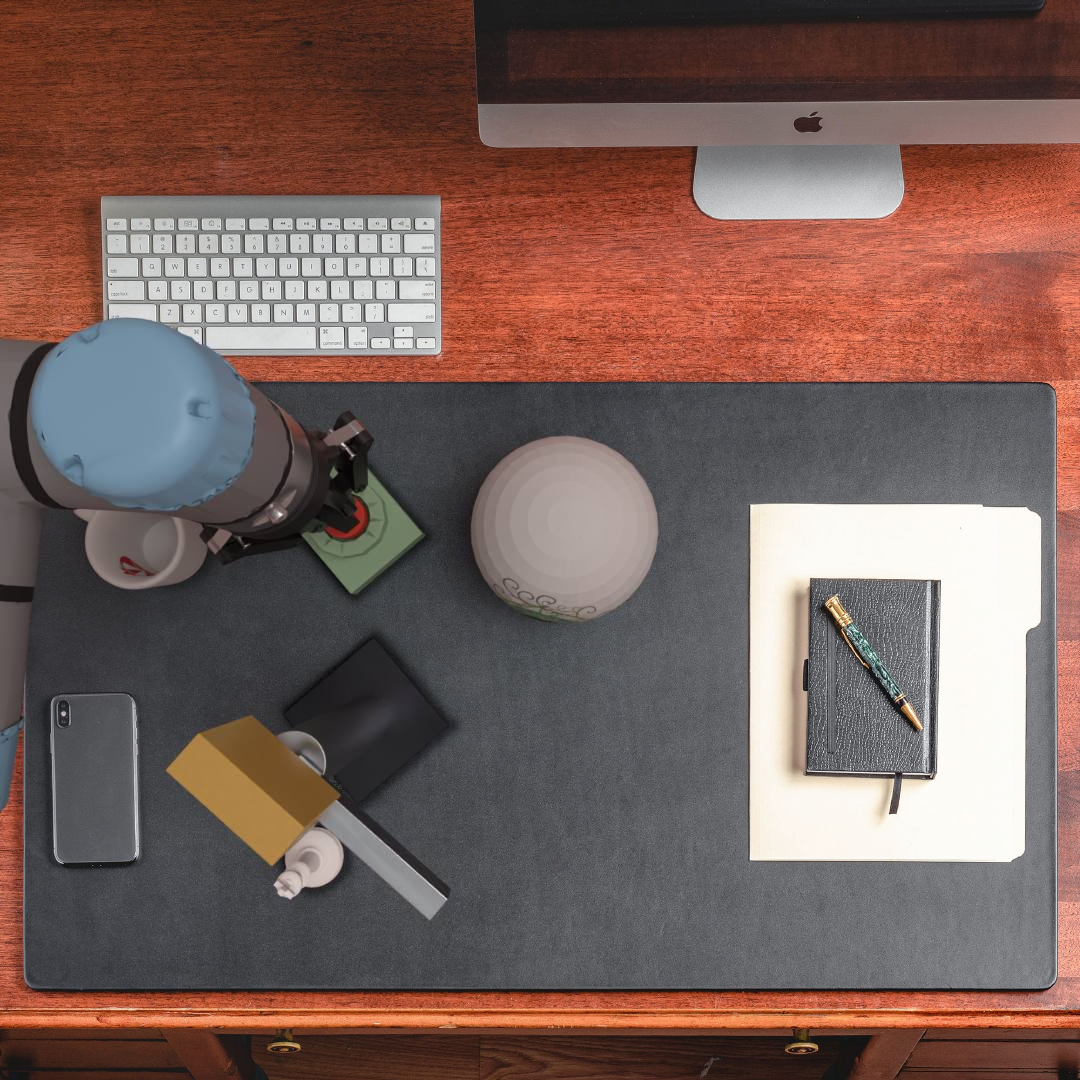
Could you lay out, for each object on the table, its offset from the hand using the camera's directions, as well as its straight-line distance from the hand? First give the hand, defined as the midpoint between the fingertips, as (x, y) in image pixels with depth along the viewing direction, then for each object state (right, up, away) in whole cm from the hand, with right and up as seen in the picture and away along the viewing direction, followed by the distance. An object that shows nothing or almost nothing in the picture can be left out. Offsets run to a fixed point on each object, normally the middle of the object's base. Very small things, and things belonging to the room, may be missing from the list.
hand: (343, 515), depth 73 cm
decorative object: (+18, -2, +5) cm, 19 cm away
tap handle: (+5, -18, -21) cm, 28 cm away
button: (0, 0, +2) cm, 2 cm away
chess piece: (-3, -29, +3) cm, 30 cm away
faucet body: (+1, -18, +4) cm, 18 cm away
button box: (0, 0, +5) cm, 5 cm away
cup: (-17, -2, +5) cm, 18 cm away
